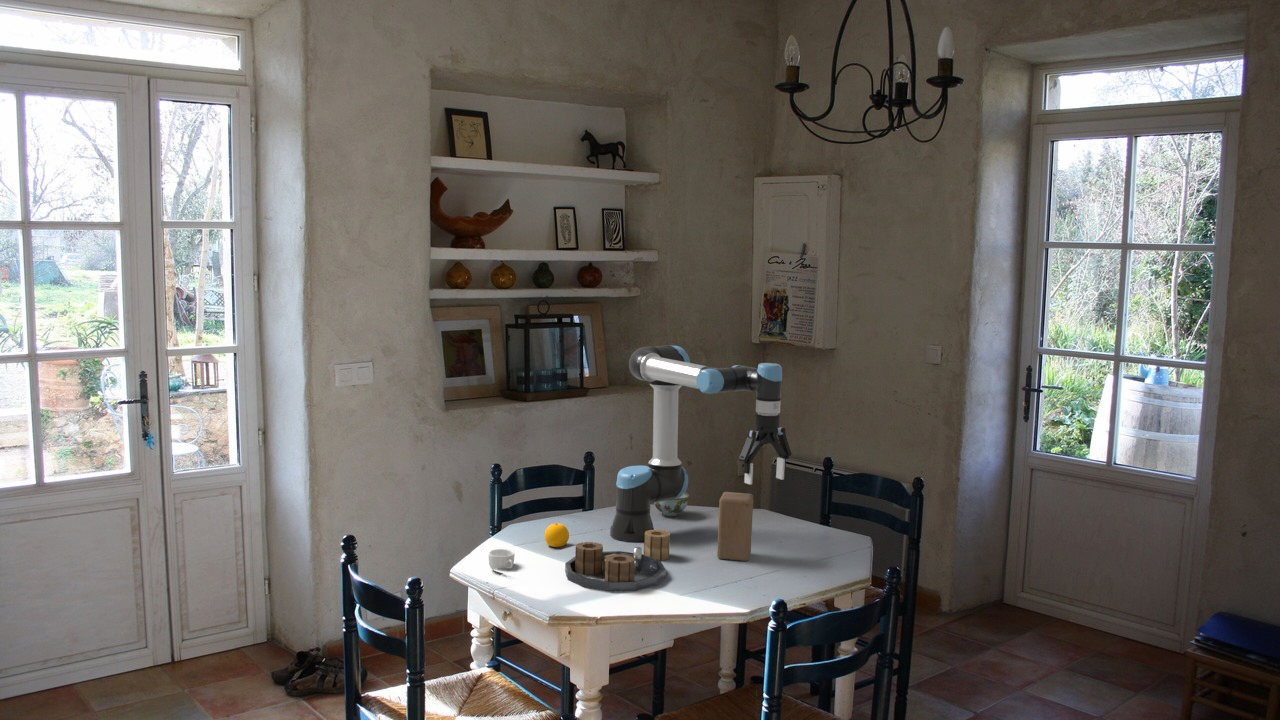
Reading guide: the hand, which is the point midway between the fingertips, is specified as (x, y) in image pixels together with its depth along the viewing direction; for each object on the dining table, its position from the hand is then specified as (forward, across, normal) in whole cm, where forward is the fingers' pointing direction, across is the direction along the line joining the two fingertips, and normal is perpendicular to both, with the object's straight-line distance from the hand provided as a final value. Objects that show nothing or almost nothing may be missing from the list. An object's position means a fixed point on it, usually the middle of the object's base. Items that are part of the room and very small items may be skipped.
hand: (764, 481), depth 305 cm
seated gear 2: (+26, -50, +6) cm, 57 cm away
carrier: (+27, -46, +13) cm, 55 cm away
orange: (+28, -43, +51) cm, 72 cm away
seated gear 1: (+26, -51, +20) cm, 61 cm away
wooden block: (+27, 0, +12) cm, 30 cm away
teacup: (+28, -71, +37) cm, 84 cm away
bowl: (+28, +13, +62) cm, 69 cm away
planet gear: (+27, -22, +25) cm, 43 cm away
